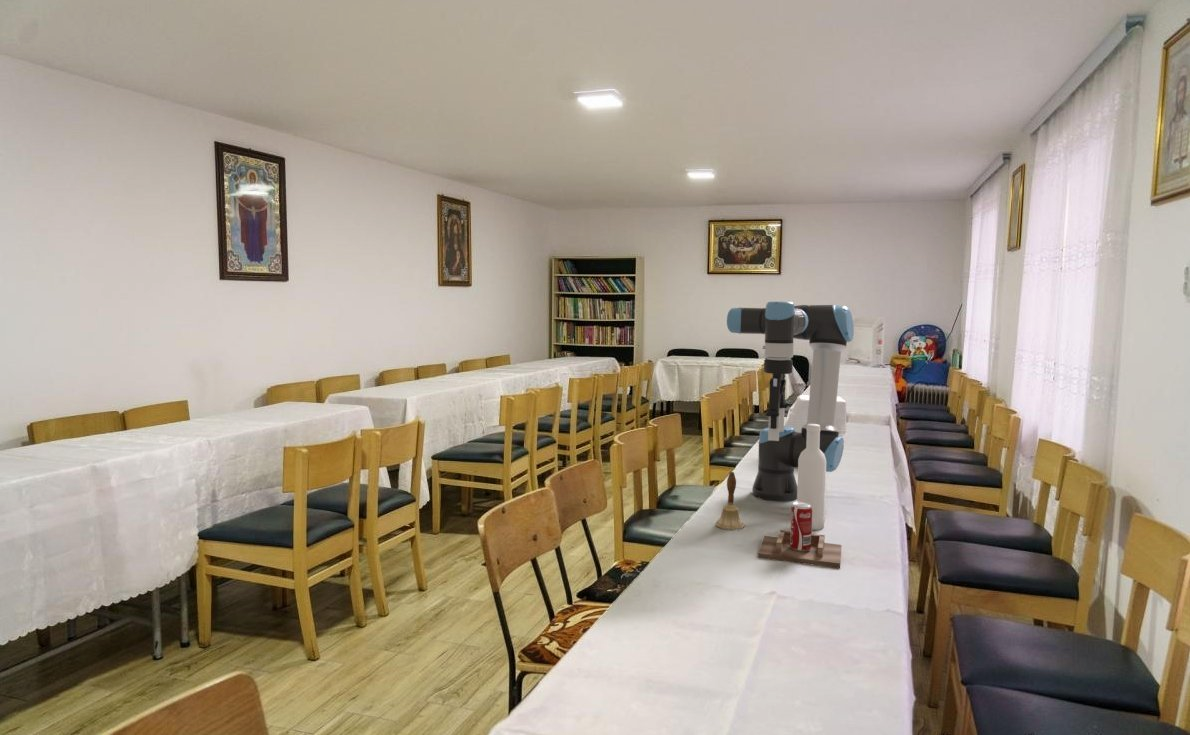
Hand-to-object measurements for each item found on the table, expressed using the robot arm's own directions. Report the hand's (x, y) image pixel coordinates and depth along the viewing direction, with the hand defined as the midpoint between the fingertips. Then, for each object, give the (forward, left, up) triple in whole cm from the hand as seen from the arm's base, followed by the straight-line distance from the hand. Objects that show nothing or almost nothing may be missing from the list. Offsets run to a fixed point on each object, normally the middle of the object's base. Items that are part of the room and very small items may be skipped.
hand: (776, 435), depth 192 cm
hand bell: (-6, -13, -29) cm, 32 cm away
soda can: (+10, +8, -28) cm, 31 cm away
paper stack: (-104, +4, -29) cm, 108 cm away
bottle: (-14, +9, -29) cm, 33 cm away
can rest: (+10, +8, -29) cm, 31 cm away
